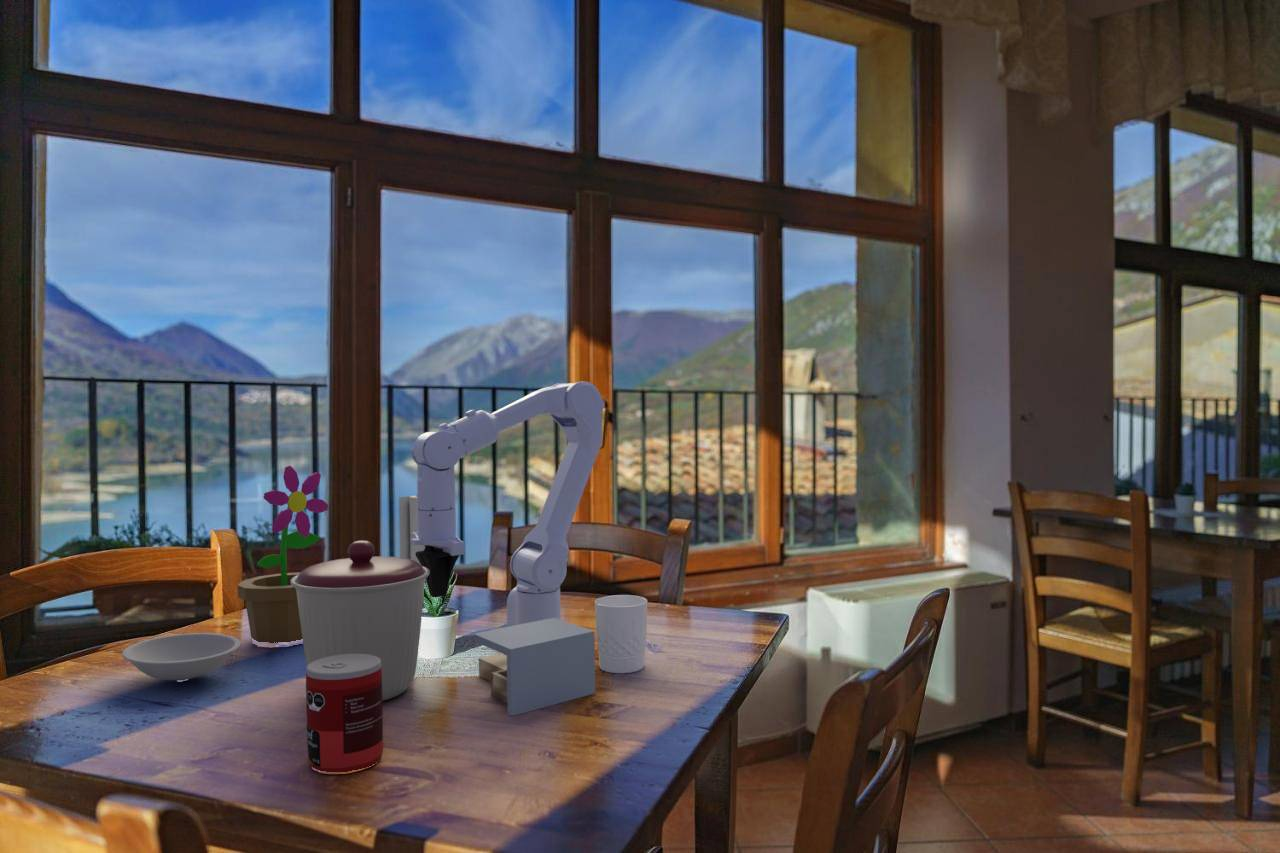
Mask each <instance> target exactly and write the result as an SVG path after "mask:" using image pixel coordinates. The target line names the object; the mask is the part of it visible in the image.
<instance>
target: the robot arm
mask: <svg viewBox="0 0 1280 853" xmlns="http://www.w3.org/2000/svg"><path fill="white" fill-rule="evenodd" d="M605 406H606V405H605V401H604V400H603V397H602V396H601V393H600V392H599V390H598V388H597V387H596V385H594V384H593V383H592V382H588V381H585V380H584V381H577V382H570V383H567V382H566V383H564V382H560V383H559V382H557V383H555V384H553V385H551V386H546V387H543V388H539V389H538V390H534V391H533V392H530V393H529V394H527V395H525V396H522V397H521V398H519V399H518V400H515V401H513V402H511V403H510V404H507V405H506V406H503V407H501V408H499V409H498V410H496V411H493V412H492V413H489V412H488V411H484V410H482V409H480V410H477V411H476V410H475V409H470V410H468V411H466V412H464V415H465V416H464V417H462V418H460V419H459V418H458V420H454V421H452V422H449V423H446V422H444V423H443V422H442V423H441V424H439V425H438V428H439V430H438V431H425V432H423V433H422V434H421V435H419V436H418V437H417V438H416V440H415V441H414V444H413V445H412V449H411V450H410V455H411V458H412V460H413V461H414V463H415V464H416V465H417V481H416V484H417V487H416V488H417V489H416V490H417V491H416V492H417V494H416V495H418V532H415V533H412V539H411V543H412V545H422V546H425V549H424V551H418V552H416V557H417V559H418V560H419V562H420V564H421V566H424V567H426V568H428V569H429V571H430V573H429V576H428V577H427V578H426V581H427V585H428V589H429V593H430V596H432V597H438V598H440V597H445V596H447V593H448V589H449V584H450V580H451V576H452V573H453V569H454V567H455V565H456V563H457V561H458V559H459V557H460V555H461V556H463V555H465V554H466V548H465V547H466V546H465V545H466V544H465V541H463V540H461V538H459V537H458V535H457V526H456V525H457V519H456V518H457V517H456V515H457V514H456V479H455V477H456V476H455V466H456V464H458V462H459V460H460V459H463V458H465V457H468V456H470V455H472V454H474V453H475V452H478V451H480V450H482V449H485V448H486V447H488V446H490V445H492V444H495V443H496V442H497V440H498V438H499V435H500V432H502V431H504V430H507V429H509V428H512V427H513V426H516V425H518V424H521V423H524V422H525V421H528V420H530V419H533V418H535V417H537V416H539V415H550V416H551V418H552V419H553V420H554V421H555V423H556V424H558V425H559V427H561V429H562V431H563V433H564V434H565V436H566V439H567V441H568V443H567V445H566V449H565V451H564V453H563V456H562V458H561V461H560V464H559V465H558V466H559V467H558V469H557V471H556V474H555V476H554V479H553V481H552V483H551V487H550V489H549V491H548V494H547V497H546V499H545V501H544V504H543V506H542V510H541V513H540V515H539V518H538V519H537V523H536V525H535V527H534V528H533V529H531V531H529V532H528V533H527V534H526V535H525V536H524V539H523V541H522V543H521V545H519V547H518V548H517V549H516V550H515V551H514V552H513V554H512V555H511V558H510V562H509V568H510V572H511V574H512V576H513V577H514V578H515V579H516V586H515V587H514V588H513V589H511V591H510V592H509V594H508V596H507V600H506V623H507V624H506V627H509V626H514V625H519V624H524V623H529V622H535V621H540V620H545V619H550V618H556V619H559V620H562V619H561V585H562V583H563V582H564V580H565V578H566V576H567V562H568V561H567V559H568V557H569V554H570V548H569V544H568V542H567V535H568V533H569V531H570V528H571V525H572V522H573V520H574V517H575V514H576V512H577V510H578V506H579V504H580V501H581V499H582V497H583V494H584V490H585V488H586V486H587V483H588V480H589V478H590V475H591V472H592V470H593V467H594V466H595V463H596V462H595V461H596V460H597V457H598V454H599V452H600V449H601V446H602V443H603V423H602V422H603V421H602V413H603V411H604V408H605Z"/></svg>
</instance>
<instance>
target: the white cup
mask: <svg viewBox="0 0 1280 853" xmlns="http://www.w3.org/2000/svg"><path fill="white" fill-rule="evenodd" d="M594 611H595V613H594V614H595V628H596V629H595V630H596V639H597V640H596V641H597V642H596V643H597V650H598V664H599V665H598V666H599V668H600V669H601V670H602V671H604V672H607V673H610V674H611V673H612V674H630V673H636V672H639V671H641V670H643V668H644V667H645V664H646V660H645V659H646V646H647V639H646V638H647V630H648V629H647V628H648V626H647V624H648V621H647V620H648V598H646V597H643V596H639V595H631V594H617V595H615V594H614V595H606V596H601V597H599V598H597V599H595V600H594Z"/></svg>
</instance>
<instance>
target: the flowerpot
mask: <svg viewBox="0 0 1280 853" xmlns="http://www.w3.org/2000/svg"><path fill="white" fill-rule="evenodd" d="M321 476H322V475H321V473H320V472H318V471H316V472H314V473H311V474H309V475H308V476H307V477H306V478H305V480H304V481H303V482H302V484H301V489H300V490H301V491H299V486H300V480H299V476H298V473H297V471H296V470H295V469H294V468H293V467H292V465H288V466H284V472H283V476H282V477H283V481H284V485H285V489H287V490H288V491H289V492H290V494H289V496H288V494H287V493H286V492H284V491H280V490H275V489H272V490H269V491H266V492H264V493H263V500H265V501H266V502H267V503H269V504H270V505H275V506H280V507H281V506H284V505H287V508H286V509H283V510H280V512H279V513H278V515H277V516H276V517H275V518H274V520H273V523H272V527H271V528H272V529H271V530H272V532H274V534H277V533H280V532H281V537H280V538H281V539H280V547H279V548H280V554H269V555H267V556H263V557H262V558H261V559H260V560H259V561H258V562H257V567H260V568H264V569H271V568H272V569H273V568H275V567H278V566H280V573H274V574H273V573H272V574H266V575H260V576H259V575H258V576H255V577H251V578H248V579H244V580H242V581H240V583H237V598H239V599H241V600H243V601H245V606H246V607H245V608H246V614H247V619H248V625H249V631H250V632H249V633H250V637H251V638H253V639H254V640H256V641H258V642H269V643H274V642H275V643H276V642H277V643H278V642H291V641H296V640H301V639H303V638H302V630H301V623H300V616H299V609H298V600H297V592H296V588H294V587H293V586H292V585H291V583H290V581H291V579H292V578H293V577H294V576H296V575H299V574H300V573H301V572H302V571H299V572H288V570H287V569H288V565H287V564H288V563H287V560H288V559H287V558H288V556H287V548H291V549H292V548H293V549H296V550H299V549H304V548H308V547H311V546H312V545H314V544H316V543H317V542H319V541H321V536H318V535H316V534H314V533H313V532H311V531H310V530H311V523H310V522H311V521H310V518H309V515H308V514H307V513H306V512H305V511H304V510H305V508H306V509H307V511H309V512H313V513H317V514H321V513H325V512H326V511H328V510H329V504H328V503H327V502H326V501H325V500H323V499H321V498H315V497H311V498H309V499H307V497H306V496H307V495H310V494H313V493H314V491H315V490H316V489H317V488H318V486H319V485H320V481H321ZM294 513H296V514H295V518H294V523H295V528H296V530H295V531H292V532H290V533H288V531H289V525H290V523H291V522H292V520H293V516H294Z"/></svg>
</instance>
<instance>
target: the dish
mask: <svg viewBox="0 0 1280 853" xmlns="http://www.w3.org/2000/svg"><path fill="white" fill-rule="evenodd" d="M240 647H241V641H240V639H238V638H237V637H235V636H232V635H227V634H222V633H215V632H214V633H212V632H192V633H191V632H190V633H177V634H170V635H164V636H163V635H162V636H157V637H153V638H148V639H144V640H141V641H137V642H136V643H133V644H131V645H129V646H127V647H125V648H124V649H123V651H122V653H121V655H122V659H124V660H125V661H127V662H130V664H132V666H134V667H135V668H136V669H137V670H138V671H140V672H142V673H143V674H145V675H147V676H149V677H151V678H154V679H158V680H165V681H176V680H185V679H190V680H191V679H195V678H199V677H203V676H205V675H208V674H210V673H212V672H214V671H215V670H216V669H218V668H219V667H221V666H222V665H223V664H224V663H225V662H226V661H227V660H229V658H230V657H231V655H232V654H233V653H234V652H235V651H237V650H238V649H239V648H240Z"/></svg>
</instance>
